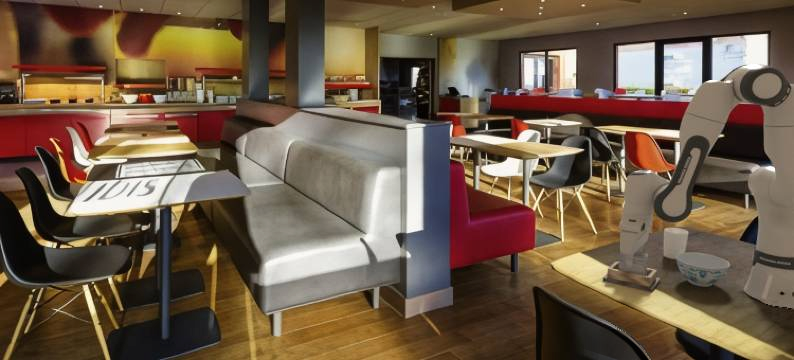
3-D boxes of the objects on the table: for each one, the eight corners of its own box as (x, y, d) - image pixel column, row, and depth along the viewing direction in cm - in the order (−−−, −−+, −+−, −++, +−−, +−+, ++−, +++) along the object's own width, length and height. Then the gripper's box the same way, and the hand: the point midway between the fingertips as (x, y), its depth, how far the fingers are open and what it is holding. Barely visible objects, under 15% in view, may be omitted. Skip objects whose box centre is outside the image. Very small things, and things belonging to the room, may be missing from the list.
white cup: (689, 260, 191) (692, 233, 189) (667, 260, 191) (670, 233, 189) (678, 252, 199) (681, 227, 197) (657, 252, 199) (660, 227, 197)
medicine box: (646, 278, 171) (648, 253, 170) (643, 283, 168) (645, 257, 166) (621, 273, 176) (623, 248, 174) (617, 277, 173) (619, 252, 171)
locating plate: (660, 281, 172) (661, 269, 171) (651, 291, 164) (653, 279, 163) (612, 270, 181) (613, 259, 180) (602, 280, 173) (603, 269, 172)
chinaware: (708, 273, 178) (710, 252, 177) (737, 291, 164) (741, 268, 162) (664, 274, 178) (667, 252, 176) (690, 292, 163) (693, 269, 162)
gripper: (635, 211, 178) (632, 250, 181) (617, 225, 163) (614, 267, 165) (655, 214, 174) (651, 254, 177) (639, 229, 159) (635, 272, 161)
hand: (633, 260), depth 171 cm, fingers open, 8 cm apart
